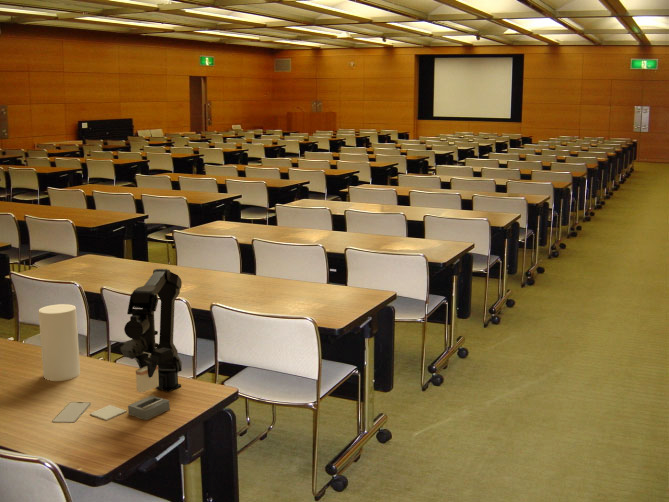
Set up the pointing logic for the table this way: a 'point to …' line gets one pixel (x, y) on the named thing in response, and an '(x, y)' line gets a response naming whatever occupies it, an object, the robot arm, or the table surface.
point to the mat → (108, 412)
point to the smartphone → (71, 412)
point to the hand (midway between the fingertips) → (147, 376)
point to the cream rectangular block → (146, 379)
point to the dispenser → (148, 407)
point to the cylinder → (59, 342)
